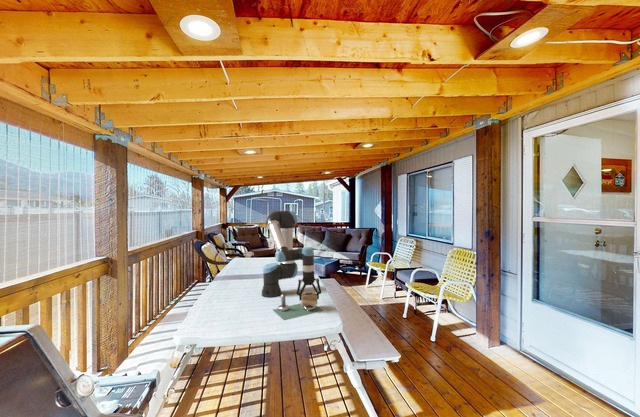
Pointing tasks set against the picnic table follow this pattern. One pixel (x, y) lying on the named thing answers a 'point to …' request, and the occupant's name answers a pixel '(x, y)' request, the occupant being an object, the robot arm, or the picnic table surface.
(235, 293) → the picnic table surface
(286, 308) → the stand
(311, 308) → the hub
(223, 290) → the picnic table surface
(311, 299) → the square wooden frame
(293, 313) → the mat
